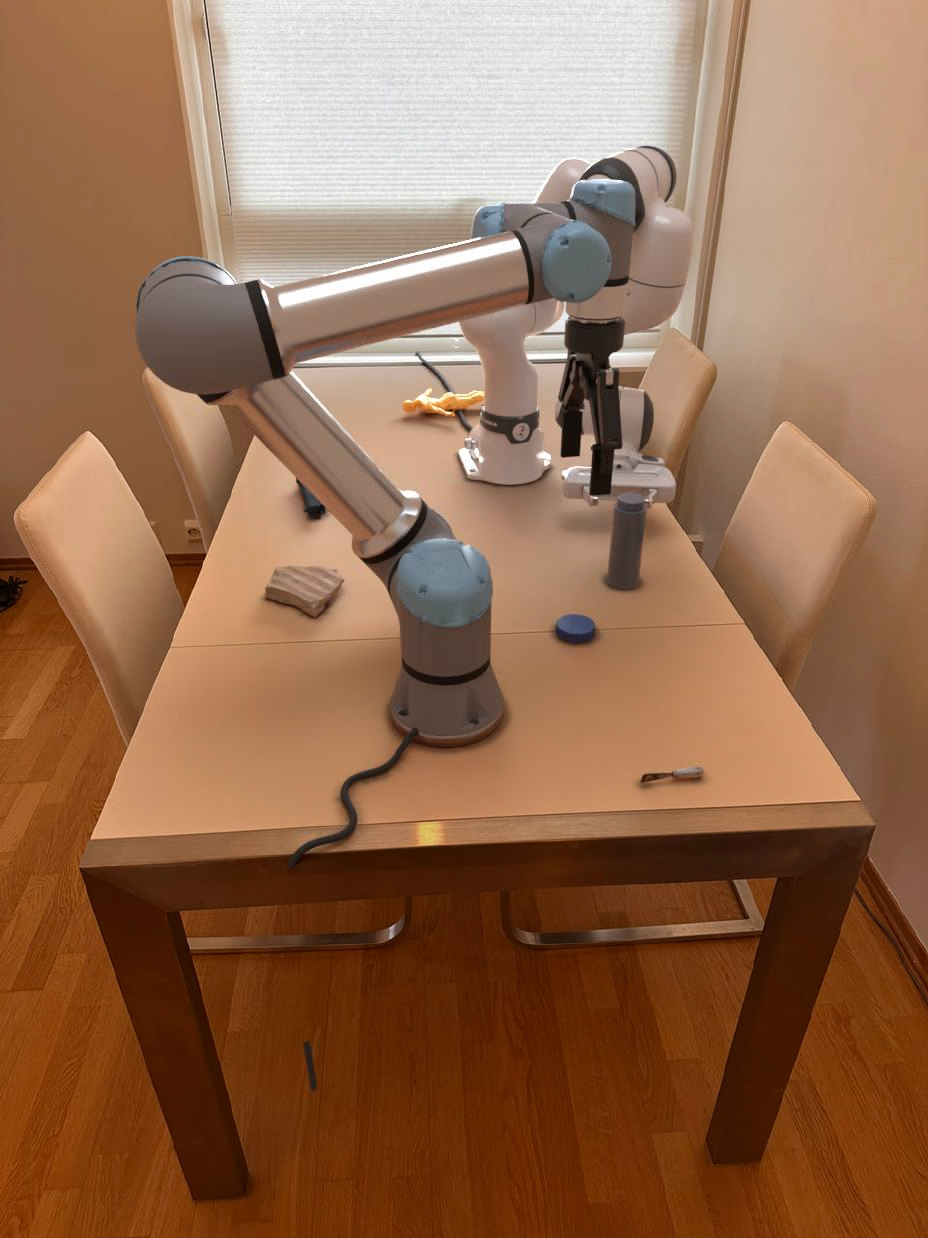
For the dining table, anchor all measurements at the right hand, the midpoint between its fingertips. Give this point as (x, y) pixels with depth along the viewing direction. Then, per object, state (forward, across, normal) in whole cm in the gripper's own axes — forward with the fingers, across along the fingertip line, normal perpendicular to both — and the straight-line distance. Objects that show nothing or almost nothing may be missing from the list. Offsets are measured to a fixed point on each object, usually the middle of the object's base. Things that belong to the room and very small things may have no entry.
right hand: (620, 503), depth 157 cm
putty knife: (+62, +4, +8) cm, 62 cm away
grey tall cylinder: (+12, 0, +9) cm, 15 cm away
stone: (+22, -52, +9) cm, 57 cm away
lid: (+29, -8, +7) cm, 31 cm away
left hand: (+29, -8, -18) cm, 35 cm away
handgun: (-17, -56, +10) cm, 60 cm away
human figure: (-73, -38, +10) cm, 82 cm away
